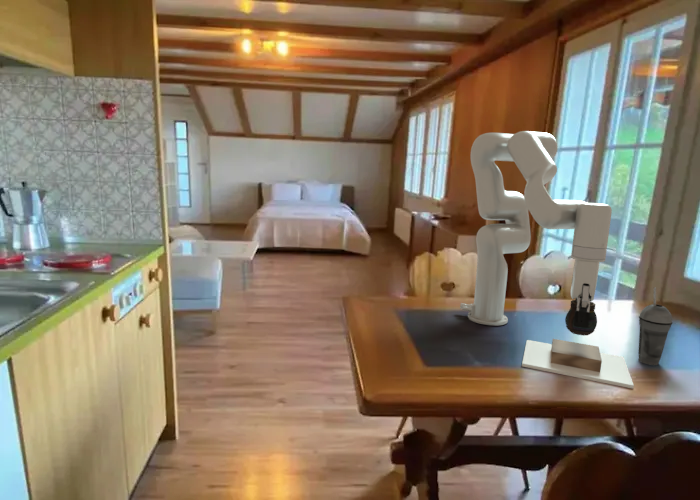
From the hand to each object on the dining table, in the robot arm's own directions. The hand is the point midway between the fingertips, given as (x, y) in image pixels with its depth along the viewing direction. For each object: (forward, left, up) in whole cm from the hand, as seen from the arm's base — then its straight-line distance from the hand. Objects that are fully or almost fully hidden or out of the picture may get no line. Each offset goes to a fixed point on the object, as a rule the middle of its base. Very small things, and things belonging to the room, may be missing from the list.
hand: (579, 321), depth 113 cm
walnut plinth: (0, 0, -10) cm, 10 cm away
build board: (0, 0, -11) cm, 11 cm away
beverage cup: (+18, +11, -12) cm, 24 cm away
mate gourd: (0, 0, -3) cm, 3 cm away
